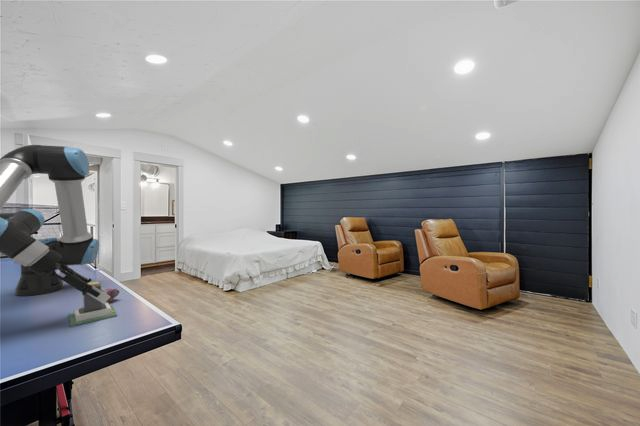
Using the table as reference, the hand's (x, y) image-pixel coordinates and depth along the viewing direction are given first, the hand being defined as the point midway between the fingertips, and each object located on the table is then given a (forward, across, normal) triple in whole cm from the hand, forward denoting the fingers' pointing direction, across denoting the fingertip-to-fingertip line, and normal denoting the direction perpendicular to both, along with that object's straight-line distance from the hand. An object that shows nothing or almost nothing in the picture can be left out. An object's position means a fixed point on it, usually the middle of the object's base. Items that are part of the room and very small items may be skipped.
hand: (105, 297), depth 98 cm
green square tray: (+1, 0, -6) cm, 7 cm away
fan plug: (+1, 0, -6) cm, 6 cm away
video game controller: (+5, -13, -4) cm, 14 cm away
